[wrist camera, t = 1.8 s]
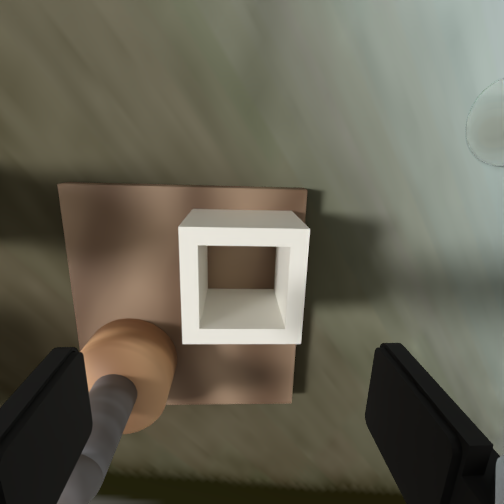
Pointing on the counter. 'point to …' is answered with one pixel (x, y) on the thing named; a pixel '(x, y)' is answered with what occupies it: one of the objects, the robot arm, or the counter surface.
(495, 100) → the beer glass
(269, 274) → the post board
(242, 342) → the hollow square frame
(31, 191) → the counter surface
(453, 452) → the robot arm
